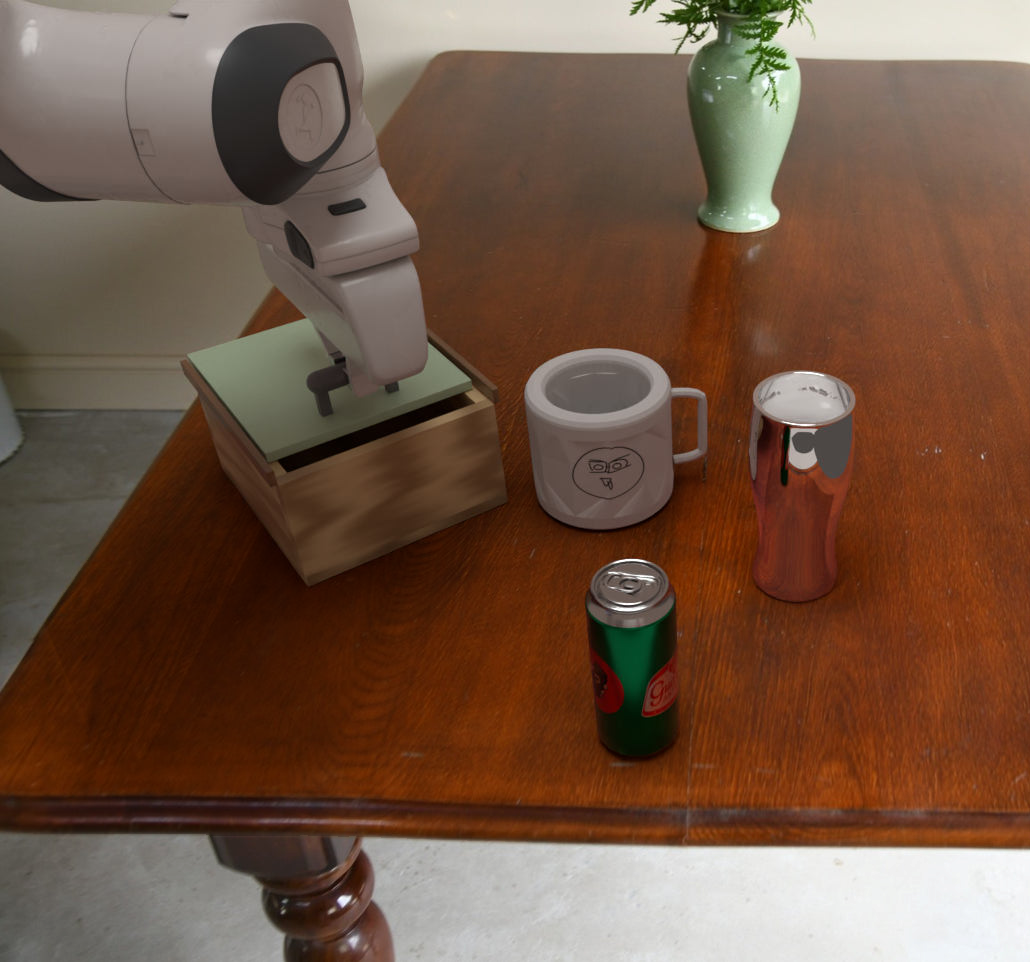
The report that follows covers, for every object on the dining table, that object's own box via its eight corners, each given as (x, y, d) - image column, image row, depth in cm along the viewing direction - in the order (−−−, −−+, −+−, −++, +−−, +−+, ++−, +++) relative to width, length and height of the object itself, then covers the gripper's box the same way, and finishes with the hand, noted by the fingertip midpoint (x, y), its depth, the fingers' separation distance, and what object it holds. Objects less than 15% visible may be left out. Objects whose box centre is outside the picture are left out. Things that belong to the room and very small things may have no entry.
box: (301, 590, 79) (266, 473, 73) (215, 470, 91) (179, 360, 84) (513, 499, 88) (498, 387, 81) (411, 400, 99) (391, 296, 93)
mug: (541, 541, 83) (527, 429, 77) (532, 458, 92) (519, 351, 86) (720, 519, 86) (720, 409, 80) (695, 440, 94) (694, 335, 88)
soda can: (662, 771, 67) (656, 624, 59) (584, 750, 68) (568, 603, 61) (691, 709, 70) (688, 564, 63) (616, 690, 72) (605, 546, 64)
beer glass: (863, 582, 80) (881, 404, 71) (785, 621, 77) (793, 439, 68) (803, 531, 85) (813, 357, 76) (727, 565, 81) (728, 388, 72)
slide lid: (267, 463, 76) (252, 412, 73) (189, 363, 86) (173, 315, 84) (473, 388, 83) (465, 340, 81) (378, 305, 94) (369, 259, 91)
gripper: (209, 158, 76) (258, 337, 85) (327, 263, 63) (372, 463, 72) (300, 138, 80) (339, 313, 88) (430, 235, 67) (461, 429, 75)
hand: (355, 382), depth 80 cm, fingers closed on slide lid, 2 cm apart
